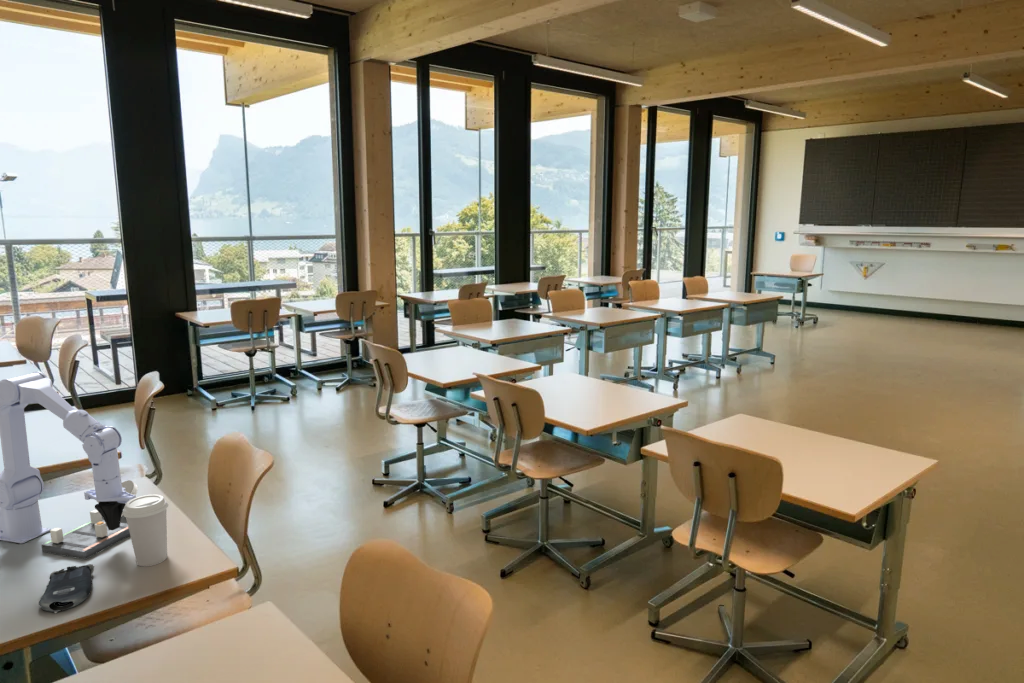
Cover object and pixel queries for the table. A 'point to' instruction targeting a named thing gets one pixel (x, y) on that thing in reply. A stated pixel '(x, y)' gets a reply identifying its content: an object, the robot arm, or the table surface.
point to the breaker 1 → (56, 535)
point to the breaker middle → (101, 529)
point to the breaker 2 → (95, 517)
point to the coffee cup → (148, 528)
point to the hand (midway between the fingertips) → (114, 528)
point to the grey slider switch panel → (85, 541)
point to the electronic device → (68, 587)
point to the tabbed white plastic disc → (129, 488)
